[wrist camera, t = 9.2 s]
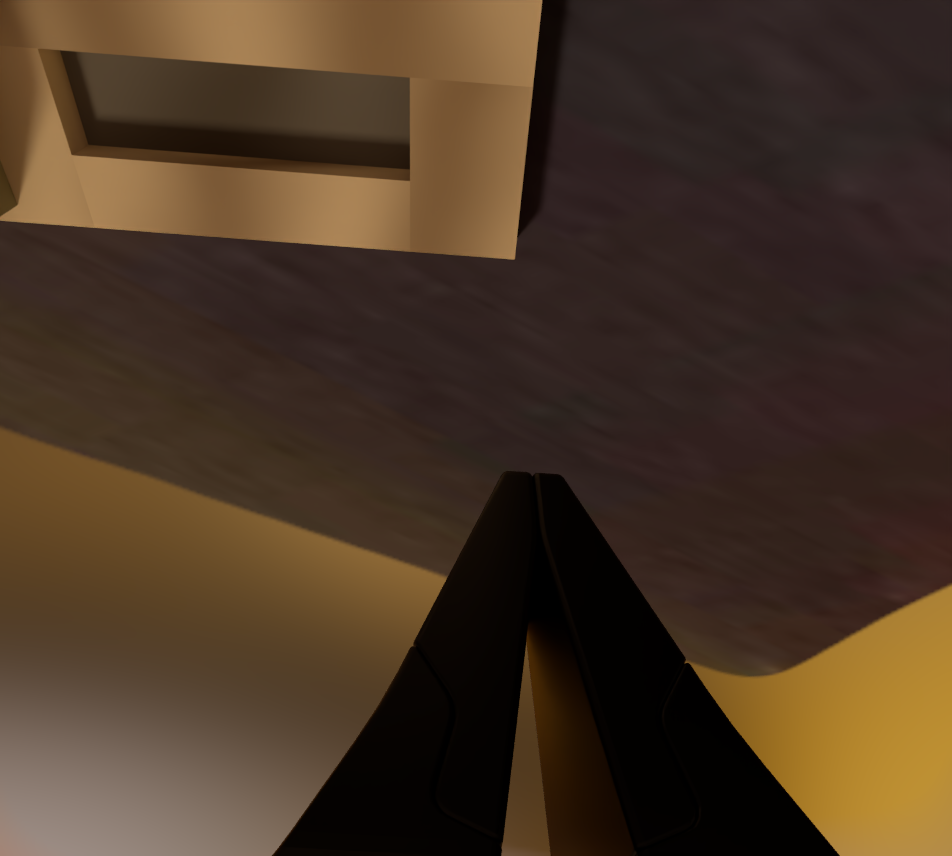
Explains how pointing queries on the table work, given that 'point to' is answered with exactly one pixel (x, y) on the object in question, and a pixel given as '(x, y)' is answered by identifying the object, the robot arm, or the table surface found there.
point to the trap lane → (271, 119)
